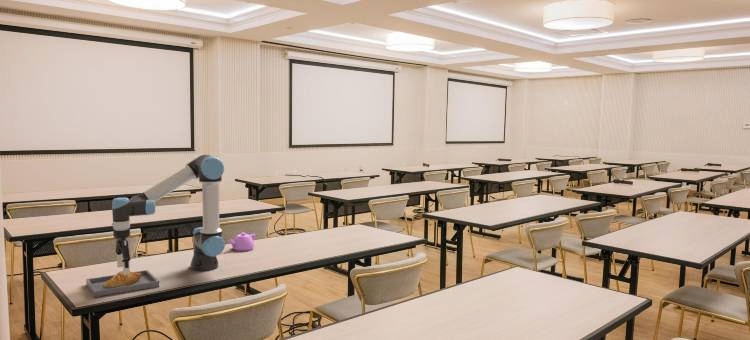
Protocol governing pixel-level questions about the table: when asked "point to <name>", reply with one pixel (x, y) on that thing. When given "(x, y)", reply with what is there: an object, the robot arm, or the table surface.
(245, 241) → the teapot
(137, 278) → the croissant
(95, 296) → the serving tray
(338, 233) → the table surface
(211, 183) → the robot arm
